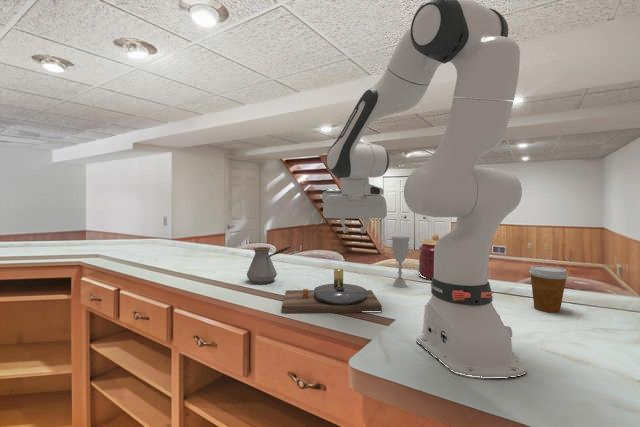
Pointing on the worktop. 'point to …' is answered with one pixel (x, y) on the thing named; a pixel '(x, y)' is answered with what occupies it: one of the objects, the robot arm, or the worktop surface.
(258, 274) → the coffee pot
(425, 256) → the canister
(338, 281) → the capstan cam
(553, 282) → the disposable coffee cup
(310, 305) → the walnut stand
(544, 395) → the worktop surface
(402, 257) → the chalice
